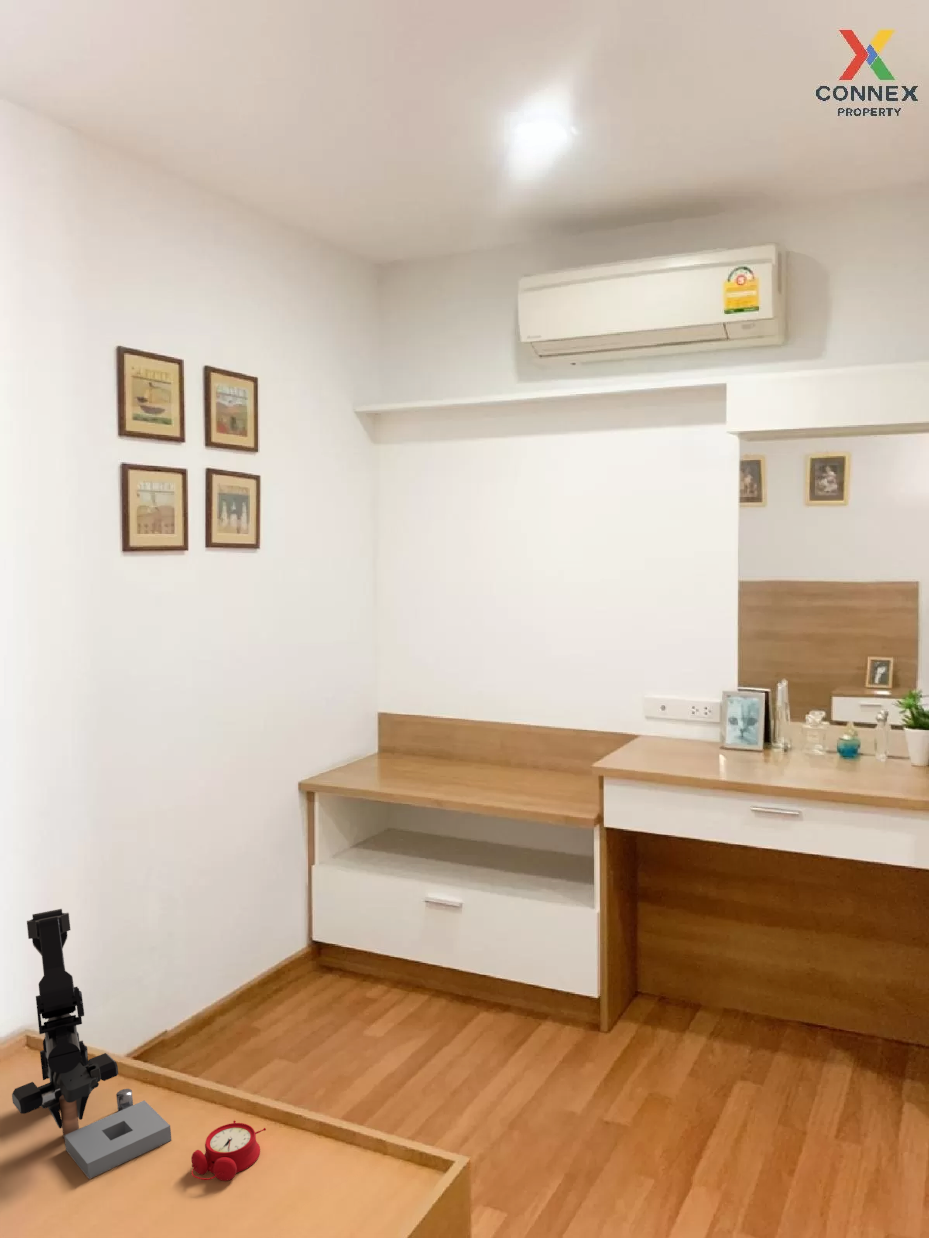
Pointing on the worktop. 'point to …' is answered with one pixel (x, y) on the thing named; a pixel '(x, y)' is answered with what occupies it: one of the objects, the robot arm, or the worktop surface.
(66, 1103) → the long dowel
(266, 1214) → the worktop surface
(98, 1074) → the robot arm
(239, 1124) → the alarm clock
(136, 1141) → the block
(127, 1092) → the short stub
